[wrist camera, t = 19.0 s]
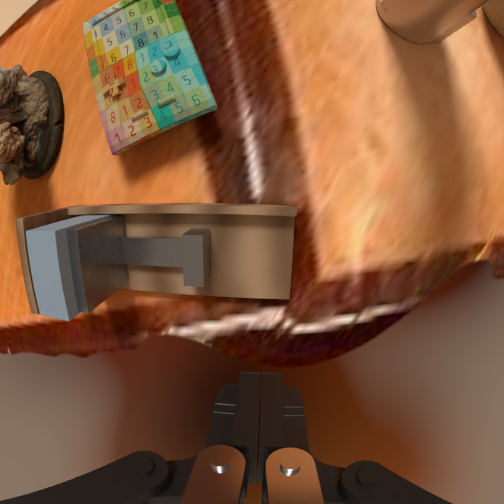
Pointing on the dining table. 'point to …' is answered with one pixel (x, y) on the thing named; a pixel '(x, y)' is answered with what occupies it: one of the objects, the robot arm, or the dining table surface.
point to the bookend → (129, 258)
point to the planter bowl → (495, 14)
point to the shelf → (221, 246)
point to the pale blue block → (55, 266)
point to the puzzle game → (144, 71)
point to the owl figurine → (28, 123)
